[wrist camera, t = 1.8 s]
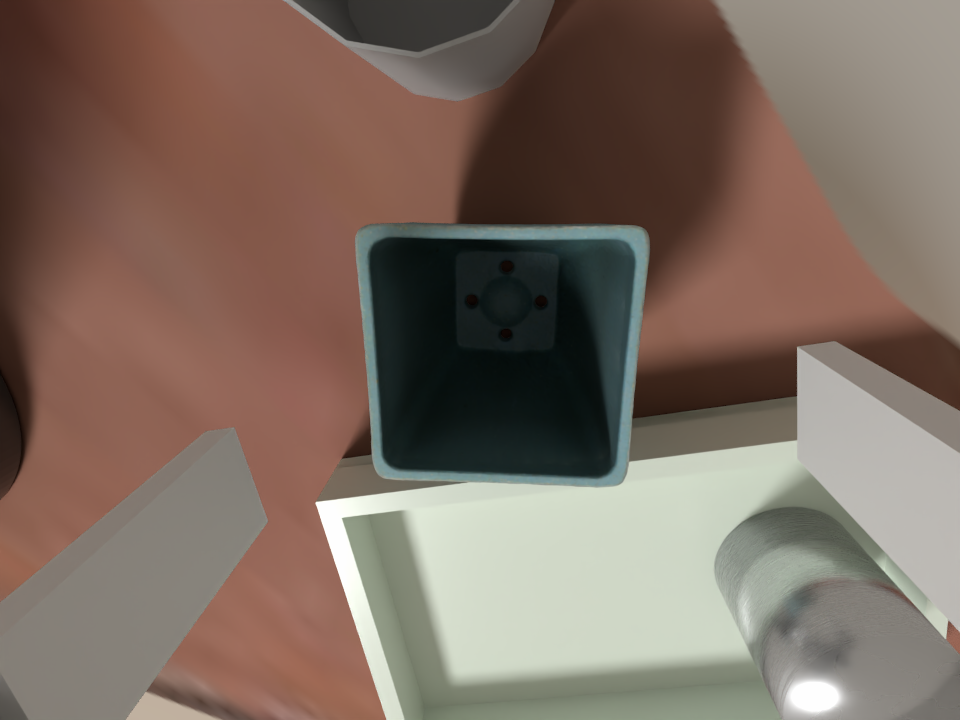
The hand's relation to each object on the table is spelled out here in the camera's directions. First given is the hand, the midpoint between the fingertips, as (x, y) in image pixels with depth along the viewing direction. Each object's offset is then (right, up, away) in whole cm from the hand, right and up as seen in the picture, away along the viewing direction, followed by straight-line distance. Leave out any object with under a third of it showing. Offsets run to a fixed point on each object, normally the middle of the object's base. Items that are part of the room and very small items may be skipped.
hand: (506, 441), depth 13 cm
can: (+15, -9, +16) cm, 24 cm away
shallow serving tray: (+7, -10, +18) cm, 21 cm away
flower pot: (+1, +5, +13) cm, 14 cm away
